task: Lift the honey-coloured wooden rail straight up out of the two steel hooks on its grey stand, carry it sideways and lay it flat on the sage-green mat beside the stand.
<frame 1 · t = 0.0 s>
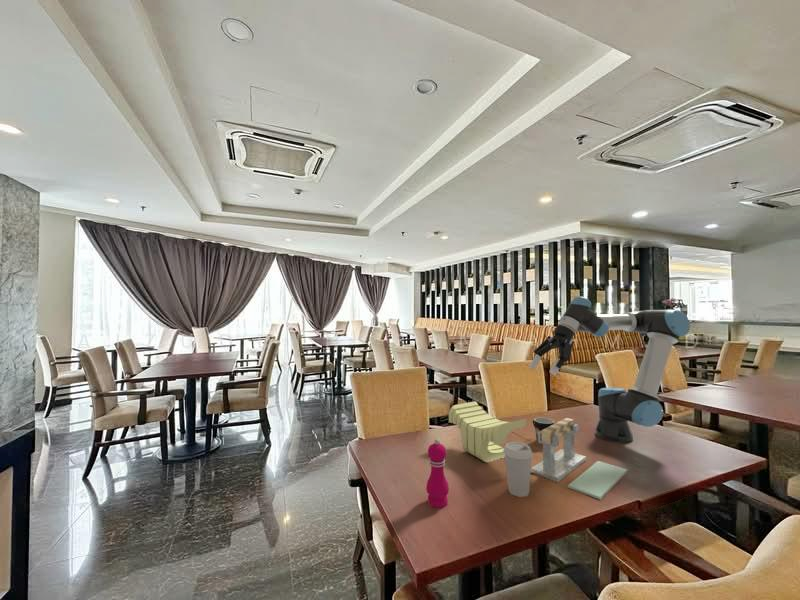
hand: (541, 371, 138), 36 cm above the table, tool tilted 35°, fingers open, 13 cm apart
coffee cup: (518, 492, 112), on the table
pepper mill: (437, 503, 106), on the table
slatted curved stool: (485, 454, 142), on the table
coffee mug: (543, 441, 156), on the table
rail stand: (559, 465, 130), on the table
wooden rail: (558, 435, 131), point 12 cm above the table, touching rail stand
green mat: (599, 479, 120), on the table
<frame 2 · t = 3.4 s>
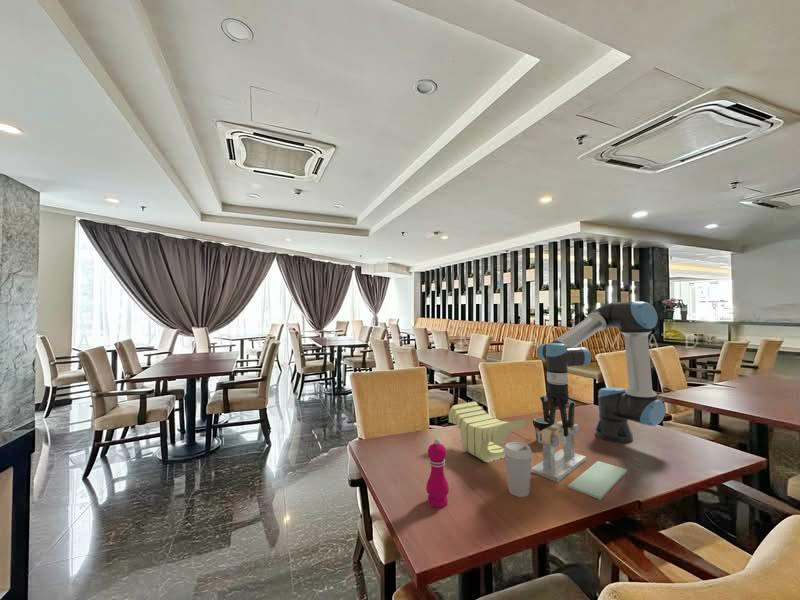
hand: (558, 442, 131), 9 cm above the table, tool pointing down, fingers closed on wooden rail, 3 cm apart
wooden rail: (558, 435, 131), point 12 cm above the table, touching gripper, rail stand
everything else where it was.
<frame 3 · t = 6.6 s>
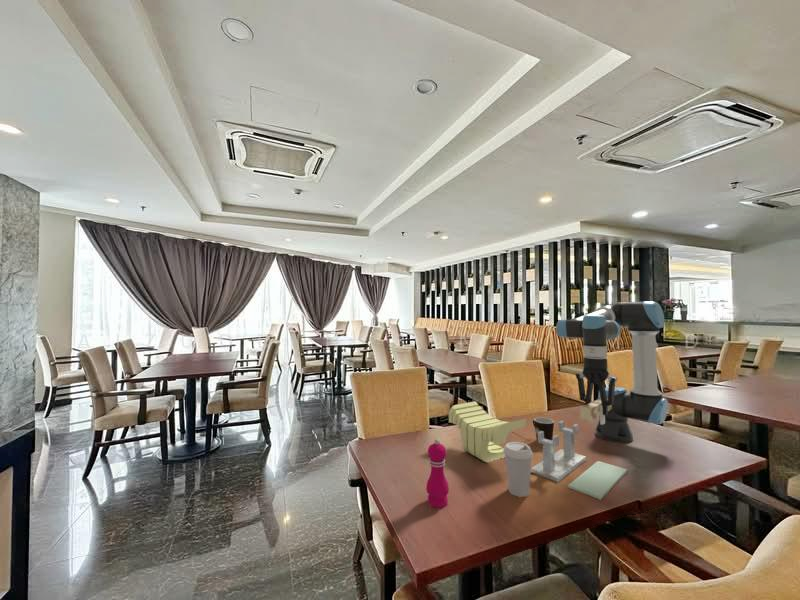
hand: (596, 422, 120), 20 cm above the table, tool pointing down, fingers closed on wooden rail, 3 cm apart
wooden rail: (596, 414, 121), point 23 cm above the table, touching gripper
everything else where it was.
when the fingers open (1 cm above the table, at t = 9.8 s): wooden rail drops 4 cm, resting on green mat.
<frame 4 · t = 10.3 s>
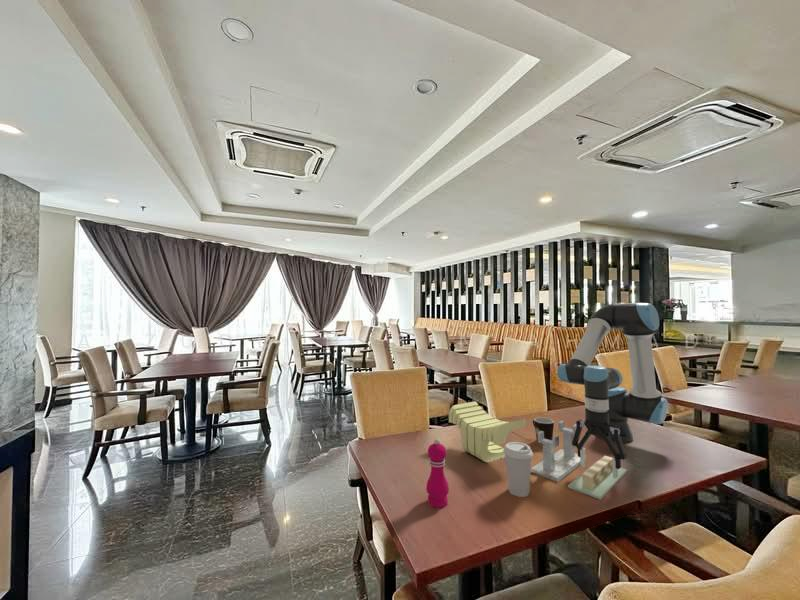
hand: (598, 471, 120), 3 cm above the table, tool pointing down, fingers open, 10 cm apart
wooden rail: (599, 477, 120), point 1 cm above the table, touching green mat
everything else where it was.
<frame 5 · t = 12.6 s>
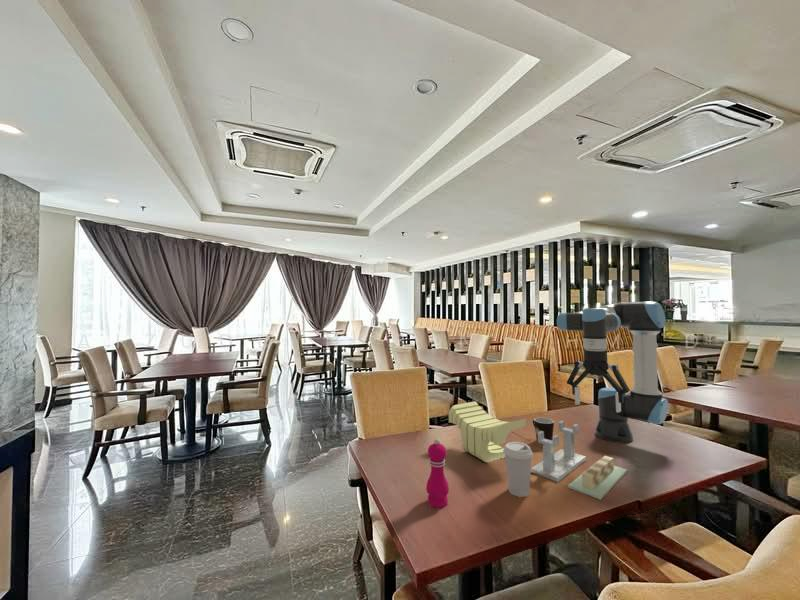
hand: (597, 407, 122), 25 cm above the table, tool pointing down, fingers open, 13 cm apart
nothing on the table moved.
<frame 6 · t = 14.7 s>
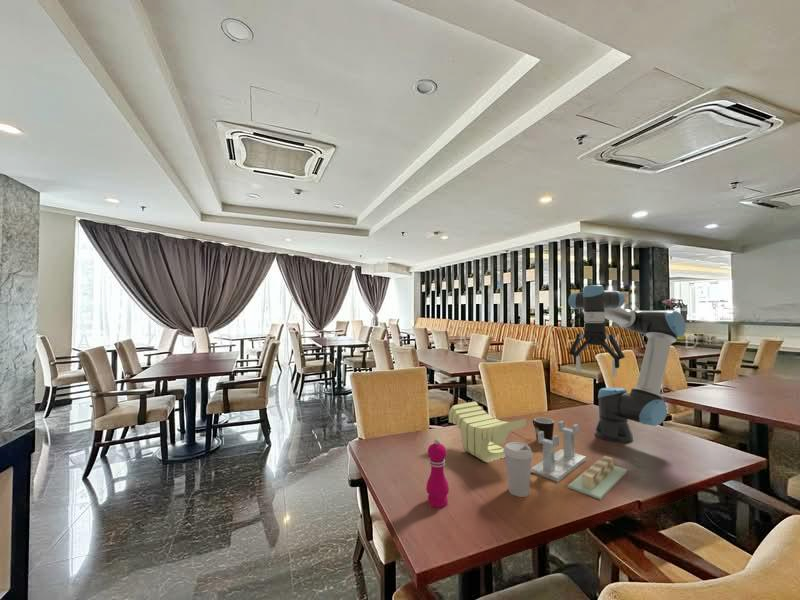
hand: (596, 373, 137), 35 cm above the table, tool pointing down, fingers open, 13 cm apart
nothing on the table moved.
at the end: wooden rail inside the target area on the green mat (0.0 cm from its centre), point 0.8 cm above the green mat's base; wooden rail tilted 0°; the gripper is holding nothing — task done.
